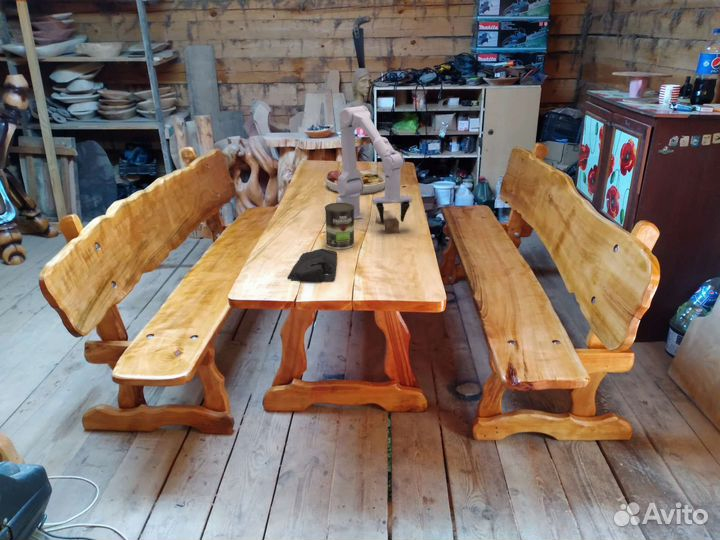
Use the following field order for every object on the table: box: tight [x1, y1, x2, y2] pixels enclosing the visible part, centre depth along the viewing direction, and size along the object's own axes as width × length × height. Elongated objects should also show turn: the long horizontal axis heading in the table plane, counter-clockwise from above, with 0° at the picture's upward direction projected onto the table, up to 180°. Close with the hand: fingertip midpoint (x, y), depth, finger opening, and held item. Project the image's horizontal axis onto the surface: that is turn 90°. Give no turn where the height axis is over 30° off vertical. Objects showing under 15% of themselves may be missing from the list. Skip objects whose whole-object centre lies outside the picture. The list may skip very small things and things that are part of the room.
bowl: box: [325, 169, 385, 195], centre depth 265 cm, size 30×30×8 cm
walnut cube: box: [384, 217, 400, 235], centre depth 210 cm, size 4×4×4 cm
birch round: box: [375, 210, 397, 226], centre depth 220 cm, size 8×8×4 cm
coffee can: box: [324, 202, 355, 250], centre depth 196 cm, size 10×10×14 cm
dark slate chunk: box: [286, 248, 338, 284], centre depth 179 cm, size 15×22×5 cm
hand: (392, 221), depth 209 cm, fingers open, 7 cm apart
